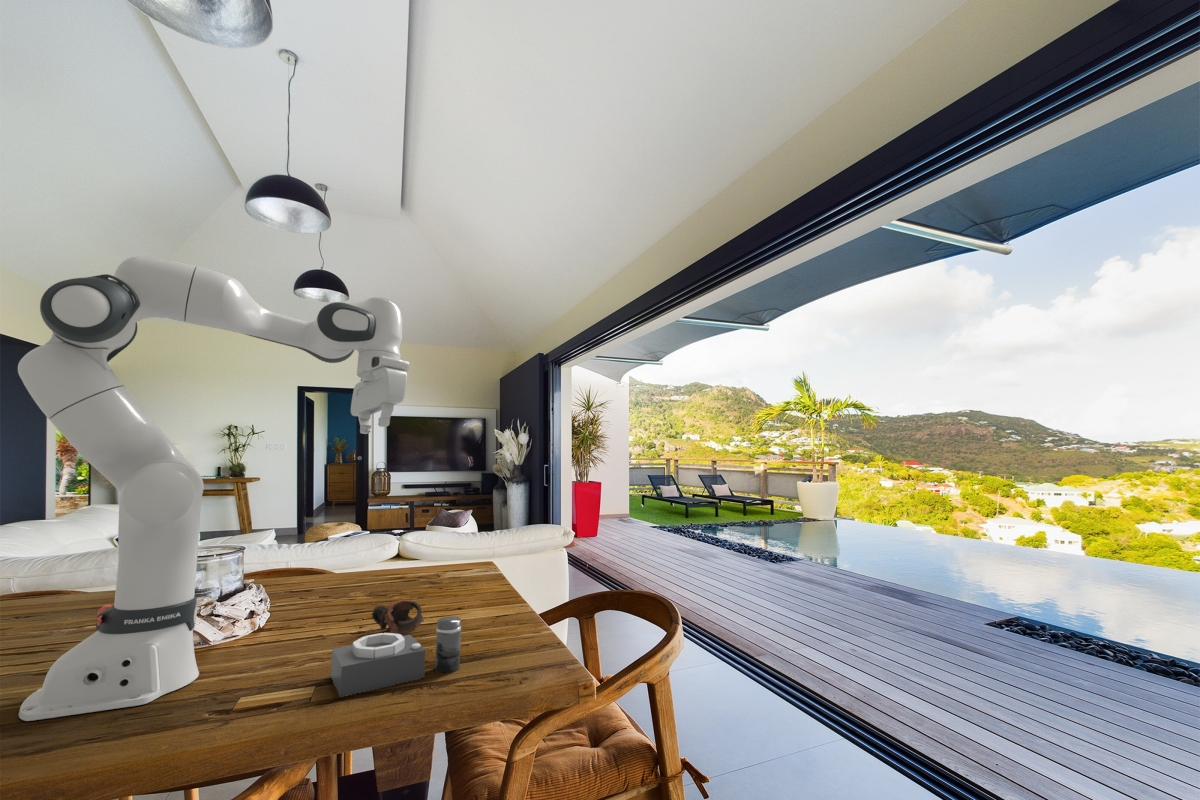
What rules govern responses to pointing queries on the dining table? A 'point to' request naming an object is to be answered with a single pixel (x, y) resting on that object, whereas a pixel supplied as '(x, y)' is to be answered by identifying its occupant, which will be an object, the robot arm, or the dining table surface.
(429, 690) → the dining table surface
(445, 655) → the lens
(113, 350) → the robot arm
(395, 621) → the pottery mug
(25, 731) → the dining table surface
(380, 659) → the camera body
